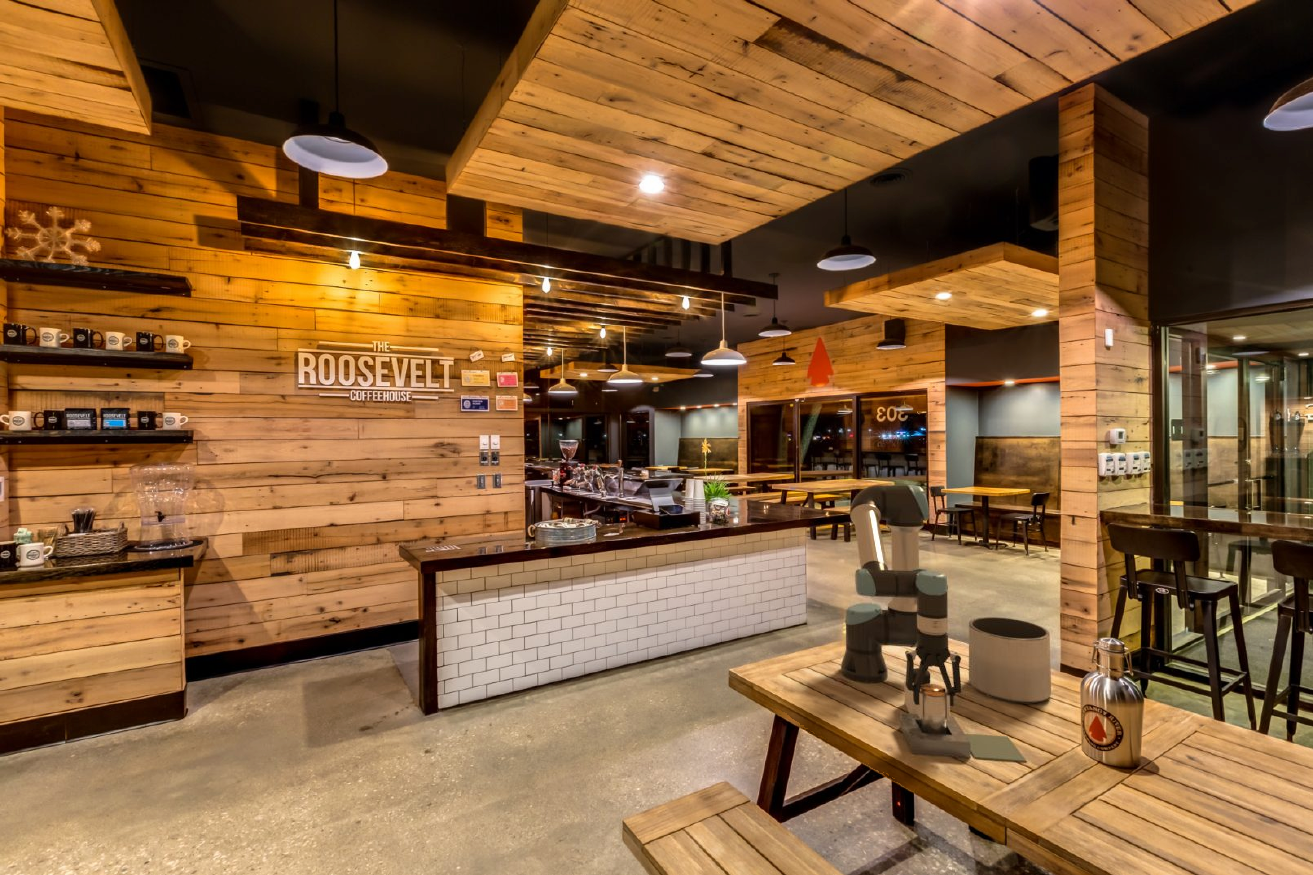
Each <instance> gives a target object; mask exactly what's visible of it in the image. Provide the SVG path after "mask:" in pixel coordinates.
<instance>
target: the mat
mask: <svg viewBox="0 0 1313 875" xmlns="http://www.w3.org/2000/svg"><path fill="white" fill-rule="evenodd" d="M964 734H965V735H966V737H967V738H968V740H969V741H970V752H971V754H972V756H973V758H974V759H976V760H988V761H989V760H990V761H993V760H994V761H1002V762H1003V761H1004V762H1019V763H1028V760H1027V759H1026V758H1025V757H1024V756H1023V754H1022V753H1021V751H1020V750H1019V749H1018V747H1016V745H1015V744H1014V743H1013V741H1012V740H1011V739H1010V737H1008V736H1005V735H1004V736H1003V735H988V734H974V733H973V734H972V733H964Z"/></svg>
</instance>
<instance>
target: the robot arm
mask: <svg viewBox="0 0 1313 875" xmlns="http://www.w3.org/2000/svg"><path fill="white" fill-rule="evenodd" d="M849 516H850V520H851V522H852V523H853V524H854V527H855V535H856V544H857V550H858V556H859V557H858V558H859V564H860V568H859V569H856V570H855V575H854V577H855V578H854V579H855V580H854V581H855V591H856V593H857V594H858V595H859V596H862V597H863V596H865V597H872V598H873V597H877V598H878V597H879V598H880V597H881V598H886V597H887V598H892V599H891V600H890V601H889V602H888V603H887V609H882V607H881V605H880V604H878V603H872V602H867V603H866V602H863V603H855V604H853V605H851V606H849V607H848V608H847V609H846V611H845V620H844V623H845V652H844V655H843V658H842V661H841V663H840V664H841V665H840V672H841V674H842V675H843V676H844V677H846V678H848V679H849V680H853V681H854V682H855V681H856V682H861V683H881V682H884V681H886V680H888V675H889V673H888V672H889V671H888V667H887V664H886V662H885V658H884V656H883V650H882V649H883V648H882V646H886V647H887V646H888V647H889V646H890V647H907V648H913V649H914V648H915V650H911V651H909V650H906V651H904V654H905V657H906V669H905V670H906V673H905V681H906V687H907V688H908V690H909V691H913V701H914V703H915V705H917V714H918V716H919V717H920V718H921V719H923V694H922V692H921V691H920V689H921V686H922V683H923V680H924V677H925V674H926V671H927V670H928V671H929V667H936V668H938V669H939V672H940V675H941V677H942V680H943V683H944V687H945V690H946V719H947V720H950V716H951V707H954V706H955V703H954V702H955V699H954V698H955V696H956V694H961V693H962V682H961V681H962V680H961V670H960V668H961V667H960V665H961V660H962V657H961V656H960V654H959V653H958V652H951V651H950V650H949V634H948V631H949V623H948V622H949V620H948V616H949V615H948V614H949V611H948V610H949V609H948V606H949V605H948V604H949V602H948V600H949V599H948V598H949V597H948V590H949V585H948V577H947V575H946V574H945V573H943V572H940V571H936V570H928V569H926V568H922V567H920V542H919V541H920V536H919V533H920V531H921V529H922V528H923V527H924V522H925V521H928V520H929V519H930V510H929V502H928V499H927V495H926V492H925V490H924V489H923V488H922V487H921V486H919V485H912V484H910V485H909V484H898V485H897V484H896V485H895V484H894V485H893V484H889V485H884V484H883V485H882V484H878V485H877V484H876V485H875V484H874V485H871V486H868V487H865V488H863V489H862V490H861V491H859V492H858V493H857V494H856V495H855V497H853V500H852V502H851V503H850V508H849ZM881 520H883V521H885V520H886V521H885V522H886V526H887V527H888V528H889V529H890V536H891V537H890V539H891V569H889V567H888V562H887V558H886V551H885V546H884V540H883V536H882V530H881V525H880V521H881ZM917 656H918V658H919V660H920V661H919V666H918V667H919V669H918V672H917V675H916V678H915V681H914V685H913V671H914V667H915V663H914V661H915V660H916V657H917ZM948 659H950V661H951V670H952V672H951V673H952V682H953V686H952V683H951V680H950V676H949V675H948V674H949V673H948V671H947V668H946V664H945V663H946V662H947V660H948Z"/></svg>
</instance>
